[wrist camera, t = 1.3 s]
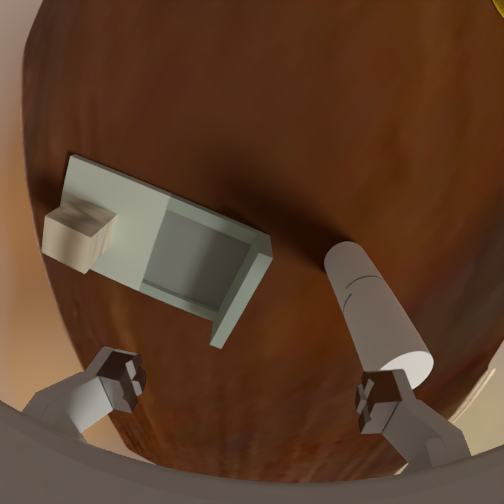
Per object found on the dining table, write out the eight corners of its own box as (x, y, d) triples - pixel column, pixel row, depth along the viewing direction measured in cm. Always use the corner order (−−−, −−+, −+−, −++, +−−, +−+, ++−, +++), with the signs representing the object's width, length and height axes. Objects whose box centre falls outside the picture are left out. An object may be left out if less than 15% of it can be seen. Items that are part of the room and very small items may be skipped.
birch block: (70, 228, 44) (41, 251, 36) (76, 196, 42) (45, 215, 33) (109, 246, 45) (84, 273, 37) (117, 214, 43) (91, 237, 35)
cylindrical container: (316, 272, 49) (356, 394, 27) (336, 235, 46) (399, 345, 24) (351, 285, 50) (404, 400, 28) (372, 250, 47) (445, 356, 25)
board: (58, 247, 47) (36, 266, 40) (75, 154, 40) (48, 163, 33) (224, 319, 53) (221, 348, 47) (270, 235, 46) (273, 258, 39)
